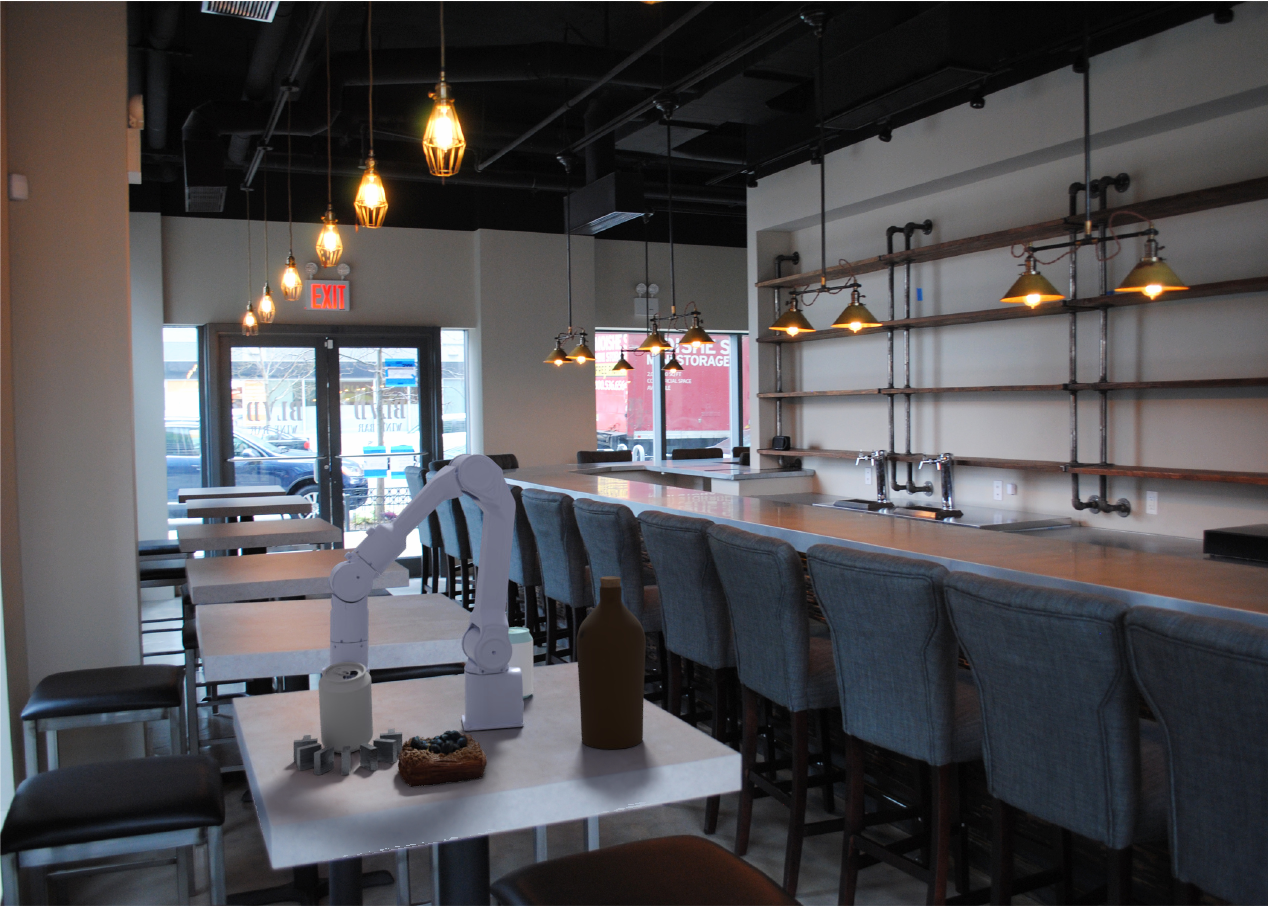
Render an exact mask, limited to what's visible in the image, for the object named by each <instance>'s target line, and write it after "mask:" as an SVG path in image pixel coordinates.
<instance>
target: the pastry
mask: <svg viewBox="0 0 1268 906" xmlns="http://www.w3.org/2000/svg"><path fill="white" fill-rule="evenodd" d="M397 760H398V763H397V767H398V768H397V769H398V773H399V776H400V777H401V779H402V781H403V782H404V783H405V784H407V785H408V786H409V787H410V788H414V787H415V788H416V787H429V786H437V785H445V784H454V783H455V784H457V783H460V782H467V781H473V780H479V779H483V776H484V775H485V774H484V773H485V771H486V766H487V764H488V760H487V755H486V752H484V750H483V749H482V748H481V744H480V742H478V741H476V740H475V739H474V737H473V736H472V734H469V733H468V734H465V733H462V732H460V731H458V730H446V731H444V732H443V734H440V735H436V736H434V737H430V736H428V737H427V738H425V737H424V736H422V737H421V736H420V735H416V736H413V737H410V738H409V739H408V740H405V741H404V742H402V750H401V751H400V753H399V754H398V758H397Z"/></svg>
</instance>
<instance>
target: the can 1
mask: <svg viewBox="0 0 1268 906" xmlns="http://www.w3.org/2000/svg"><path fill="white" fill-rule="evenodd" d="M326 667H327V668H326V669H325V670H324V671H323V674H322V673H321V675H322V676H321V677H320V678H319V681H318V685H317V686H318V700H319V701H318V702H319V704H318V705H319V720H320V721H319V723H320V740H321V744H322V746H324V748H325V747H327V746H334V753H338V754H341V753H342V749H343V746H350V751H351V753H353V752H356V751H360V744H364V743H368V744H369V743H370V742H371V740H372V739H373V737H374V736H373V735H374V726H373V725H374V723H373V719H374V718H373V697H372V695H373V693H372V691H373V690H372V676H371V675H370V672H369V673H368V672H366V667H365V666H364V665H362V664H360V663H357V662H341V663H336V664H333V665H331V666H330V665H329V666H326ZM350 671H355V672H357V673H358V675H357V676H356V677H354V678H352V679H348V680H345V679H343V676H349V675H350ZM346 673H349V674H346Z"/></svg>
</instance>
